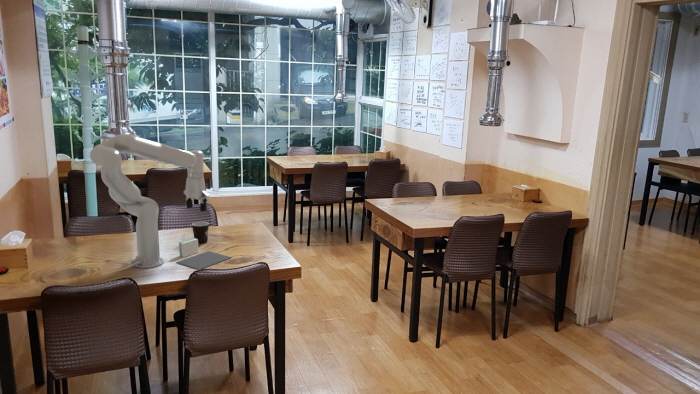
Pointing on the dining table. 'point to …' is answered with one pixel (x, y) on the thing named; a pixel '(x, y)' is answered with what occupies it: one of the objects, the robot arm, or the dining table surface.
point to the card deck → (188, 247)
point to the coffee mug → (201, 231)
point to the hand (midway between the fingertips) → (196, 209)
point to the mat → (203, 260)
